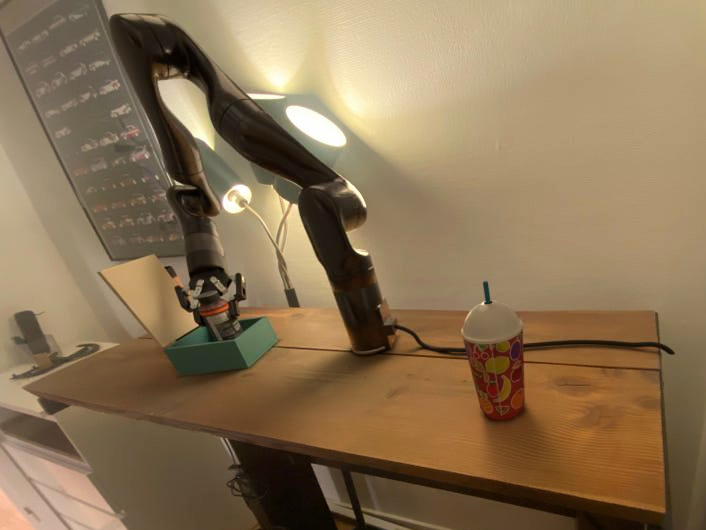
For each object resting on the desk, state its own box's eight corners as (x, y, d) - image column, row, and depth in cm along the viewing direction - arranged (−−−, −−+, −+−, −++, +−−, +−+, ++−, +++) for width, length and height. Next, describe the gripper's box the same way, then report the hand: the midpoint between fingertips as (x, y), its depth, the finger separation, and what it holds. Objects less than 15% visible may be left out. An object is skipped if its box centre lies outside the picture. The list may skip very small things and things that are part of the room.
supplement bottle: (219, 338, 89) (194, 293, 83) (246, 331, 90) (224, 286, 85) (214, 348, 84) (188, 301, 78) (243, 340, 85) (220, 293, 80)
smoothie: (473, 397, 60) (451, 277, 51) (524, 389, 60) (512, 267, 51) (478, 431, 53) (453, 298, 43) (536, 421, 53) (524, 286, 43)
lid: (154, 253, 84) (136, 260, 85) (99, 271, 72) (79, 278, 73) (204, 321, 92) (188, 327, 93) (163, 347, 80) (144, 353, 81)
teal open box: (278, 340, 94) (267, 315, 91) (248, 367, 83) (234, 340, 79) (217, 348, 96) (204, 323, 92) (179, 376, 84) (162, 349, 81)
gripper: (160, 255, 82) (171, 323, 78) (231, 241, 85) (246, 305, 81) (180, 273, 89) (192, 336, 85) (246, 260, 92) (260, 320, 88)
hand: (218, 321), depth 83 cm, fingers closed on supplement bottle, 6 cm apart
